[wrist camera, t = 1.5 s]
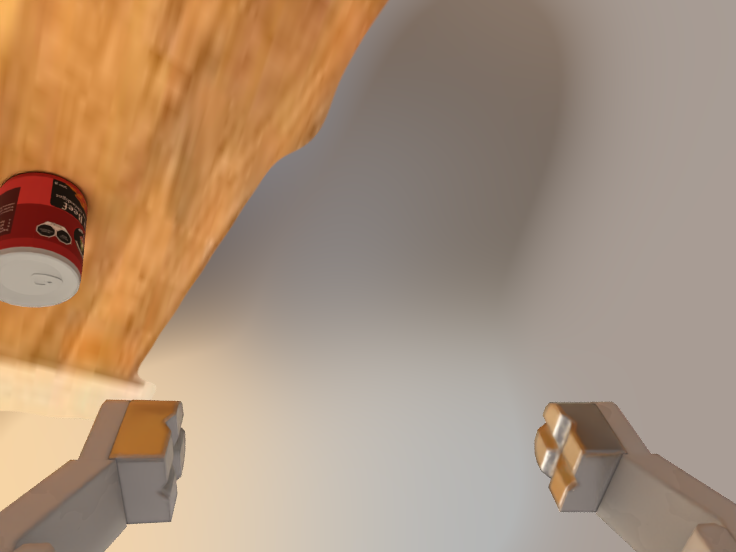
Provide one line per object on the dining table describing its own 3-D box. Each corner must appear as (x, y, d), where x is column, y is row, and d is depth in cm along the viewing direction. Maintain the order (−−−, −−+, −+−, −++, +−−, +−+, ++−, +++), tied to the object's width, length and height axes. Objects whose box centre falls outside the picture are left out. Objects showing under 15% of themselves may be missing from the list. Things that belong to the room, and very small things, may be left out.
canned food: (95, 224, 61) (89, 303, 54) (12, 229, 59) (-6, 313, 52) (78, 167, 56) (68, 248, 49) (-15, 171, 53) (-39, 256, 47)
